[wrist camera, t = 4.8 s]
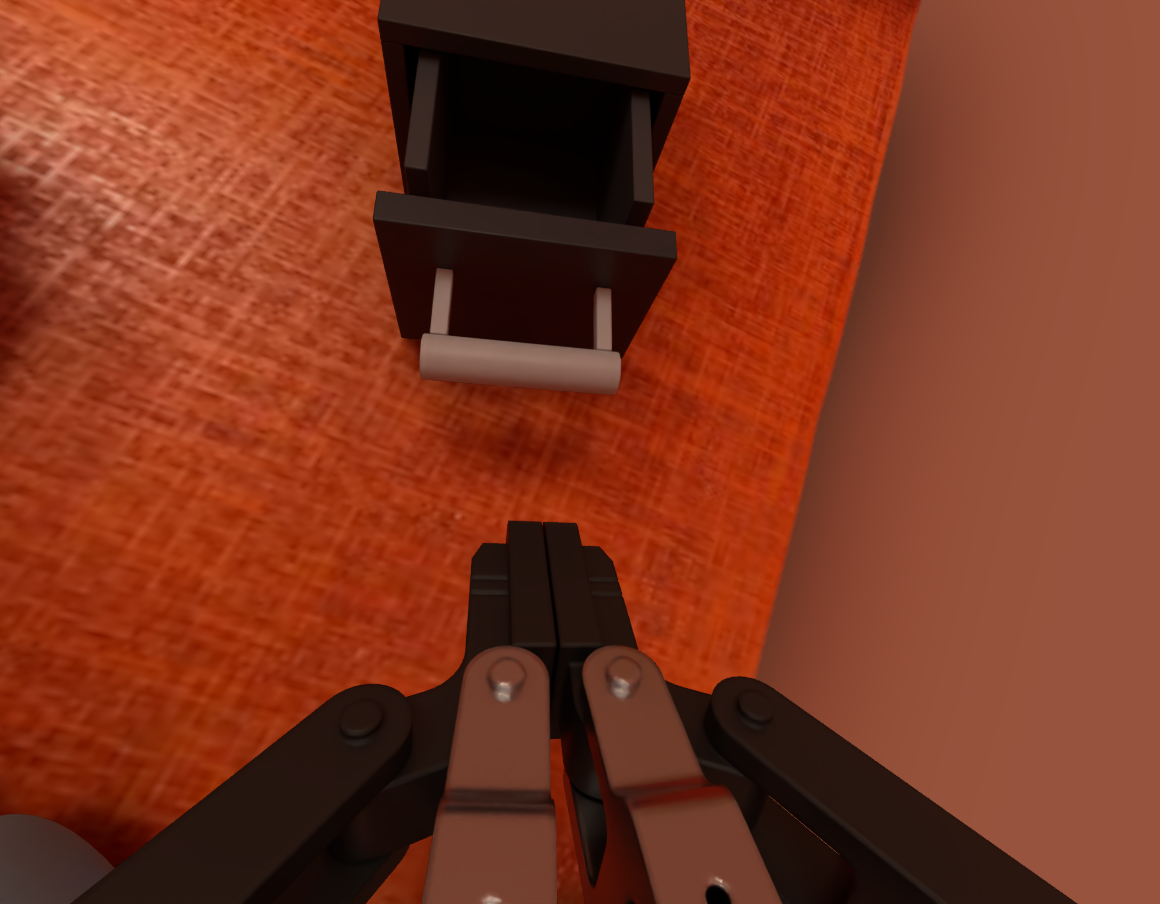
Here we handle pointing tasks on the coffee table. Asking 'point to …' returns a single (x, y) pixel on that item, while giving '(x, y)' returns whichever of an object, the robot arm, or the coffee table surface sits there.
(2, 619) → the coffee table surface
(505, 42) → the cabinet
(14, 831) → the teapot
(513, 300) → the drawer
